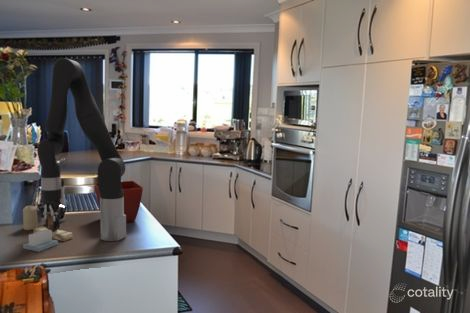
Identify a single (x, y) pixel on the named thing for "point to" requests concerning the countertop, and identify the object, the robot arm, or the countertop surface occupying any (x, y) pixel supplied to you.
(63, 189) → the travel mug
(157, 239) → the countertop surface
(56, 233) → the maple bar
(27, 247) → the fulcrum block
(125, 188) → the plant pot
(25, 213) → the candle
